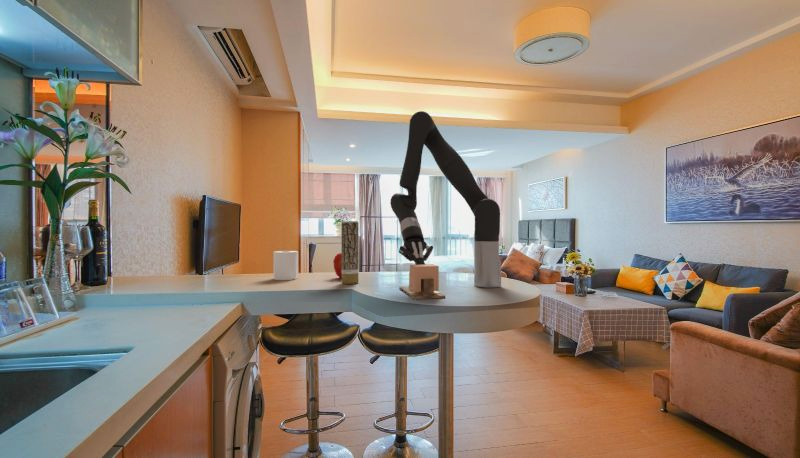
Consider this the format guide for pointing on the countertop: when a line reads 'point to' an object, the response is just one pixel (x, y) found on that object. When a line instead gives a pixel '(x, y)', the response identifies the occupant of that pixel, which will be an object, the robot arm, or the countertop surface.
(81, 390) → the countertop surface
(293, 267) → the toilet paper
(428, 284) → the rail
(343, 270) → the brown tall block
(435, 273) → the light brown square block
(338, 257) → the apple
